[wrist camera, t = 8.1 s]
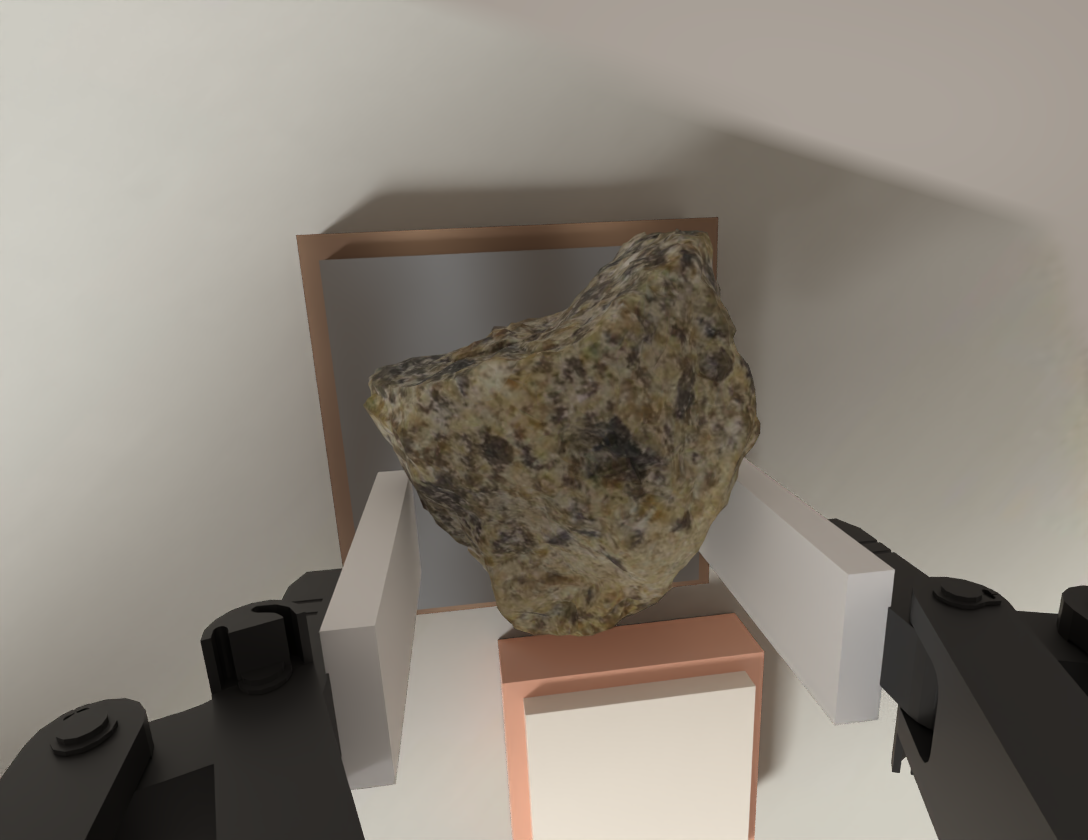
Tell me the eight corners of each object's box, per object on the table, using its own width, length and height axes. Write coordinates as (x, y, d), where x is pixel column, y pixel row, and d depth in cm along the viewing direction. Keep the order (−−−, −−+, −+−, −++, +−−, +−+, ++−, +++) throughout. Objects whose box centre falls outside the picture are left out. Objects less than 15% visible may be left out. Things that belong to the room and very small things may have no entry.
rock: (769, 479, 17) (880, 560, 12) (497, 616, 17) (512, 746, 12) (665, 218, 15) (754, 204, 10) (355, 374, 15) (312, 426, 10)
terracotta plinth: (511, 836, 31) (519, 917, 28) (497, 640, 29) (504, 700, 25) (727, 803, 33) (763, 878, 29) (734, 612, 30) (775, 666, 26)
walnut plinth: (362, 582, 27) (346, 637, 23) (316, 236, 23) (288, 234, 19) (683, 549, 29) (718, 596, 25) (688, 220, 25) (729, 215, 21)
